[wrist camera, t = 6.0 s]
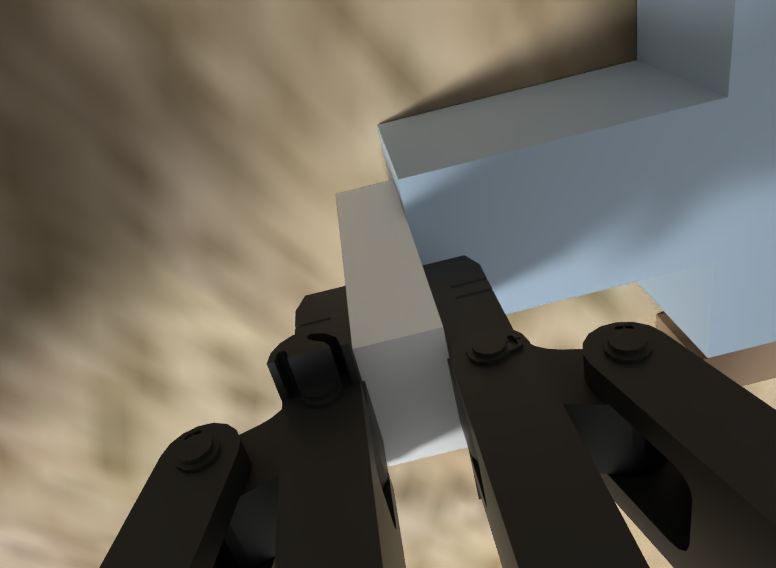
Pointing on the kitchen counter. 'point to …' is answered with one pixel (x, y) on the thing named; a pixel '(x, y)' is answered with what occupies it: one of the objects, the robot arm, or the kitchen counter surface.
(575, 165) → the blue t-shaped block
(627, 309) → the kitchen counter surface
